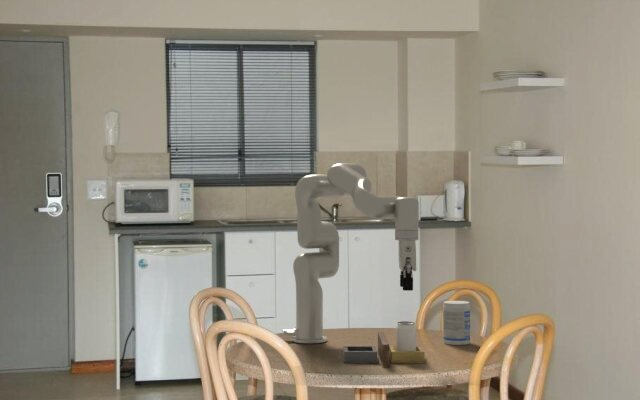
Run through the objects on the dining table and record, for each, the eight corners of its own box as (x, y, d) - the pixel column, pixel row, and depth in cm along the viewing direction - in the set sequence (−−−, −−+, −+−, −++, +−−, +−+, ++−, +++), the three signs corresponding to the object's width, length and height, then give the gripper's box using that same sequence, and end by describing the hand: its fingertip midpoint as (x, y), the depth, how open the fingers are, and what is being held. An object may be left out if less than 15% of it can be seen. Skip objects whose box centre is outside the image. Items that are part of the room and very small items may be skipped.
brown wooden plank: (382, 367, 301) (382, 344, 301) (377, 352, 325) (377, 331, 325) (389, 367, 301) (389, 344, 301) (383, 352, 325) (383, 331, 325)
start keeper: (344, 362, 308) (344, 351, 308) (343, 356, 318) (343, 346, 318) (377, 362, 308) (377, 351, 308) (375, 356, 318) (375, 346, 318)
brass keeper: (391, 362, 308) (391, 351, 308) (389, 356, 318) (389, 345, 318) (424, 362, 308) (424, 351, 308) (420, 356, 318) (420, 345, 318)
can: (415, 362, 309) (415, 324, 309) (395, 361, 310) (395, 324, 310) (417, 358, 316) (417, 321, 315) (397, 357, 317) (397, 320, 316)
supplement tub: (471, 346, 338) (471, 303, 338) (443, 345, 339) (443, 303, 338) (468, 341, 348) (469, 300, 347) (442, 340, 348) (442, 300, 348)
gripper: (421, 237, 303) (420, 291, 304) (415, 233, 321) (415, 285, 321) (397, 237, 303) (397, 291, 304) (392, 233, 321) (392, 285, 321)
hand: (406, 288), depth 313 cm, fingers open, 9 cm apart
